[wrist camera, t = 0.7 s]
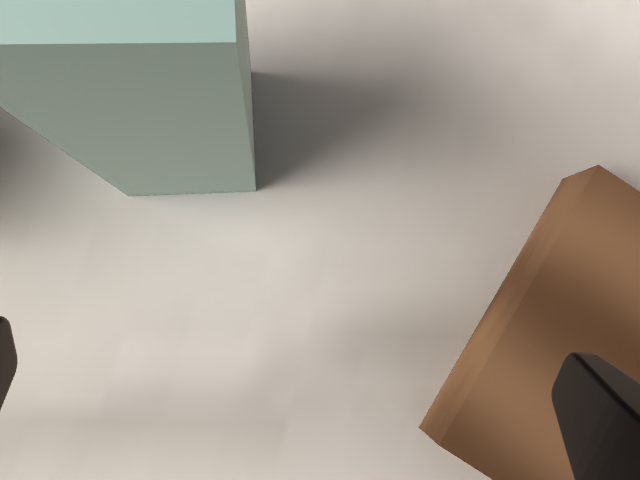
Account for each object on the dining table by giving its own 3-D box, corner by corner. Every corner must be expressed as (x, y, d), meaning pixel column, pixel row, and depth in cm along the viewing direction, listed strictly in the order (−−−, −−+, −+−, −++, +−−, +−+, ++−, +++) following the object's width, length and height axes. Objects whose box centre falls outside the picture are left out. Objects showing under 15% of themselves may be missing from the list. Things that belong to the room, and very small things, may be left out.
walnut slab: (660, 580, 22) (721, 625, 19) (415, 424, 22) (438, 445, 19) (783, 330, 24) (856, 335, 21) (556, 181, 23) (598, 164, 21)
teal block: (256, 191, 22) (236, 42, 9) (128, 195, 21) (-90, 45, 8) (250, 71, 22) (224, -237, 9) (125, 73, 22) (-85, -248, 9)
